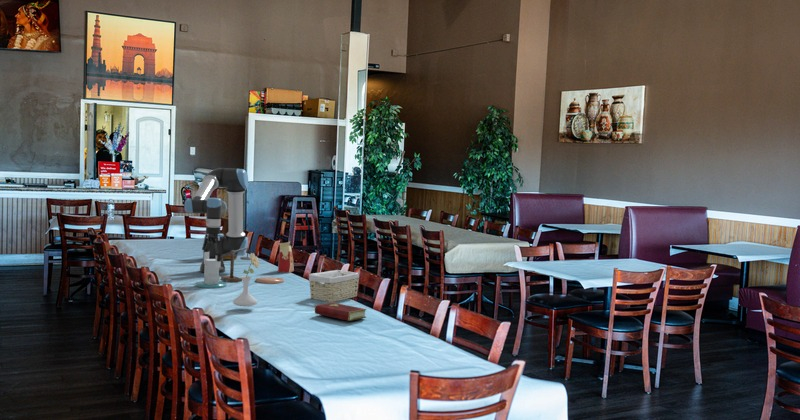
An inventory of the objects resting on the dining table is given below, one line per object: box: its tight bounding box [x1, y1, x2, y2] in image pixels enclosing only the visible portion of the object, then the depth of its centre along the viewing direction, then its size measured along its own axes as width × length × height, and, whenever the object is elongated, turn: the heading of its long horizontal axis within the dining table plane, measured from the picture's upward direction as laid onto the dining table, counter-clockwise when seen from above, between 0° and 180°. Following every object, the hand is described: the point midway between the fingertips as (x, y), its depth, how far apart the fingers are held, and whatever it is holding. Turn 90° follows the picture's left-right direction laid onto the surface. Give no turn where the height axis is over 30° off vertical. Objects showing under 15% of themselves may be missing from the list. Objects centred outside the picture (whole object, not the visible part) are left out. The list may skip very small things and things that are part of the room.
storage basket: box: [308, 269, 360, 303], centre depth 375 cm, size 24×16×15 cm
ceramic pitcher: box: [220, 216, 238, 261], centre depth 496 cm, size 20×20×30 cm
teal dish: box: [195, 281, 227, 289], centre depth 390 cm, size 16×16×1 cm
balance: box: [219, 246, 251, 283], centre depth 411 cm, size 12×27×19 cm, turn 131°
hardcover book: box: [314, 301, 367, 322], centre depth 330 cm, size 12×21×4 cm, turn 53°
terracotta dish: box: [255, 276, 285, 285], centre depth 415 cm, size 16×16×1 cm
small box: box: [203, 259, 220, 285], centre depth 389 cm, size 8×6×13 cm
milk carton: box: [277, 241, 295, 274], centre depth 451 cm, size 9×9×20 cm
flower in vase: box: [232, 252, 261, 307], centre depth 339 cm, size 13×11×25 cm
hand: (212, 265), depth 390 cm, fingers open, 13 cm apart
